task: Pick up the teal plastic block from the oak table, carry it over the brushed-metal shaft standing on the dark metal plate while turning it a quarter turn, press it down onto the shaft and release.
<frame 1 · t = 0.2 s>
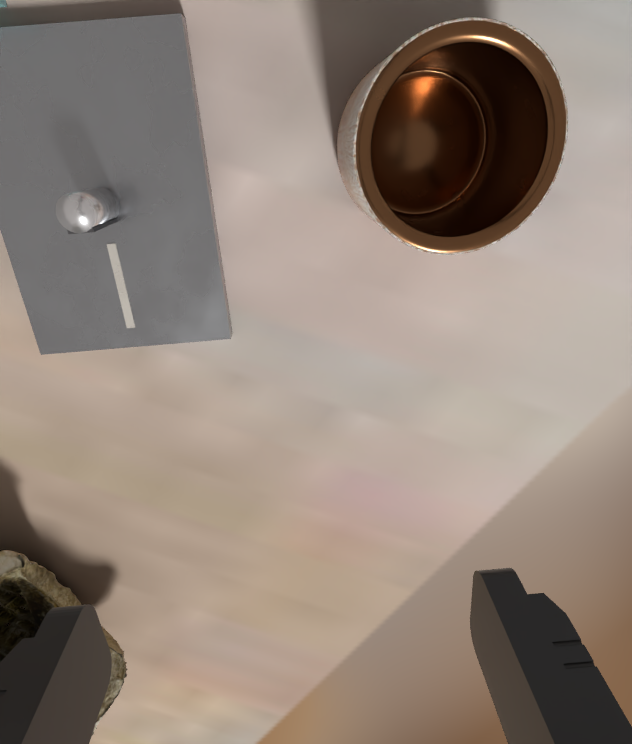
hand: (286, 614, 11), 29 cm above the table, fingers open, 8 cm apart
planter: (416, 146, 34), on the table
shaft plate: (108, 203, 34), on the table
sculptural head: (4, 604, 49), on the table
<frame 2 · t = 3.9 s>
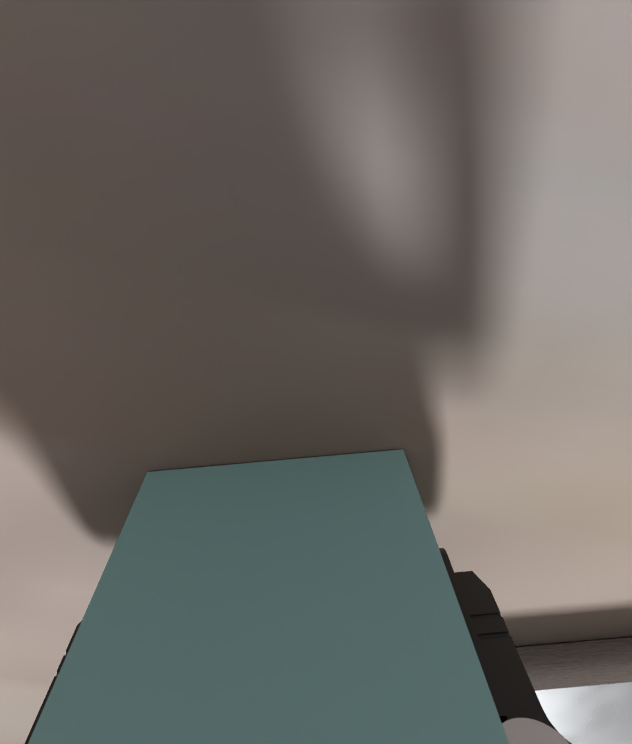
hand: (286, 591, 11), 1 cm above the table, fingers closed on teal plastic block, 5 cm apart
teal plastic block: (288, 557, 12), on the table, touching gripper
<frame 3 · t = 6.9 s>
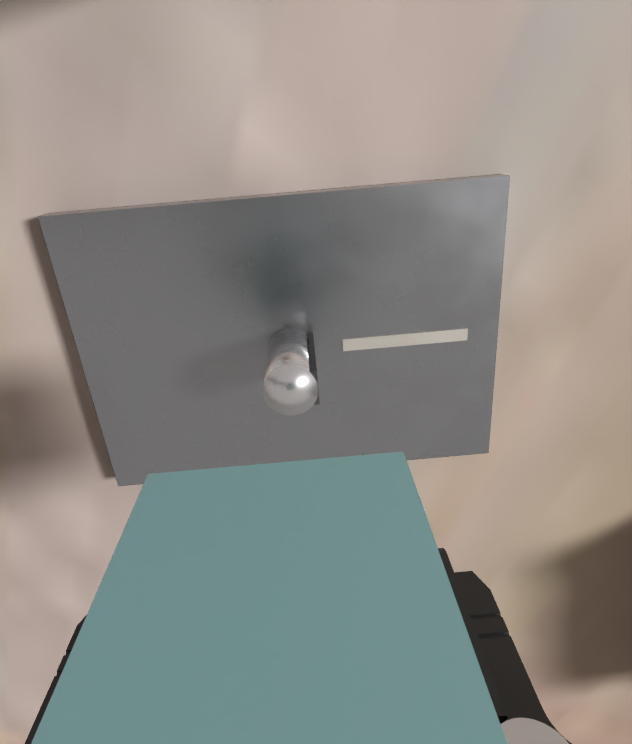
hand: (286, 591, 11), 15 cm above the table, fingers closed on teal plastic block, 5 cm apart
teal plastic block: (288, 558, 12), point 14 cm above the table, touching gripper
shaft plate: (290, 340, 25), on the table
when the fingers open (4 cm above the table, at t = 9.8 s): teal plastic block drops 1 cm, resting on shaft plate.
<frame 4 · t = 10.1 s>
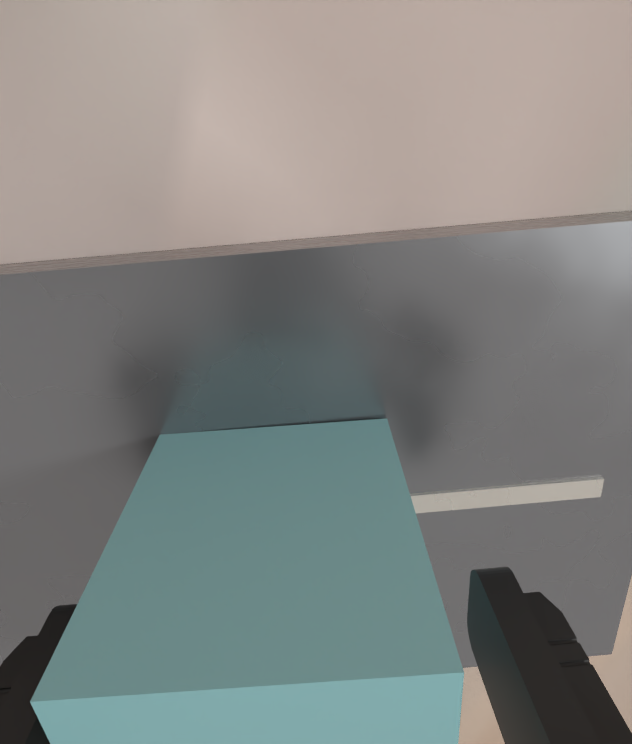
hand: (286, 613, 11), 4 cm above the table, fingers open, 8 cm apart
teal plastic block: (283, 516, 14), point 1 cm above the table, touching shaft plate
shaft plate: (288, 485, 15), on the table
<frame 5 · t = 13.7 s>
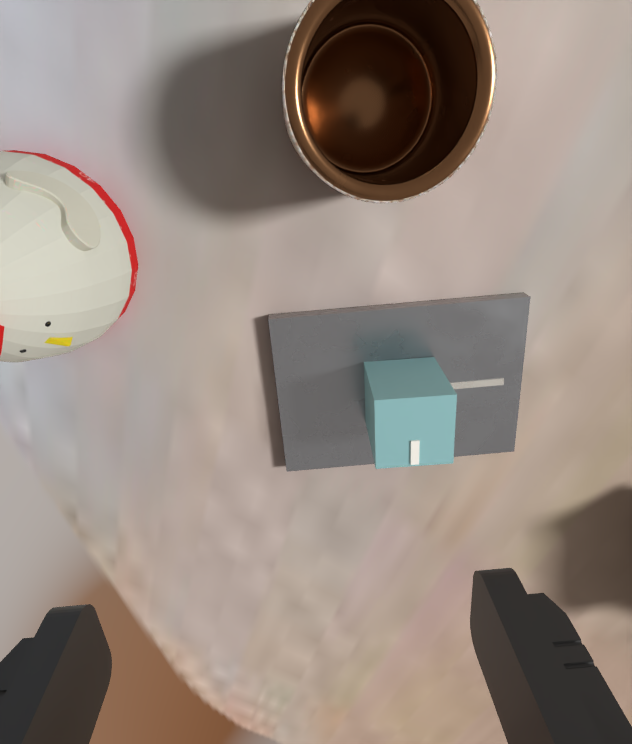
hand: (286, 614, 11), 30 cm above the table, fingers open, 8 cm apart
planter: (364, 103, 34), on the table
kitchen timer: (42, 253, 37), on the table
teal plastic block: (398, 390, 41), point 1 cm above the table, touching shaft plate
shaft plate: (397, 383, 42), on the table
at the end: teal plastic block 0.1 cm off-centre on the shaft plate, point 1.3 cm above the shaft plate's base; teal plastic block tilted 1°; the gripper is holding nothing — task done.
